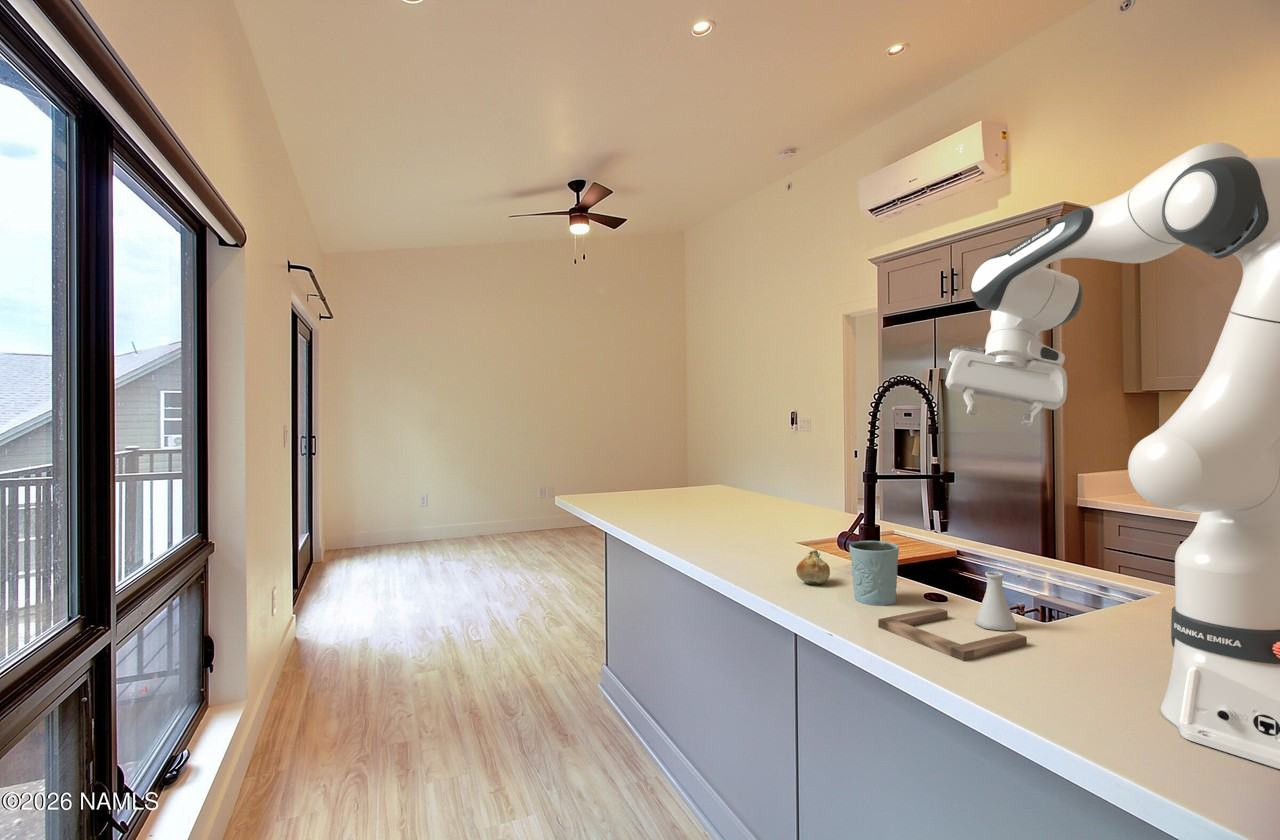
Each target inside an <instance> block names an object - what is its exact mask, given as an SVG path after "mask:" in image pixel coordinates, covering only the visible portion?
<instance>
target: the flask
mask: <svg viewBox="0 0 1280 840" xmlns="http://www.w3.org/2000/svg"><path fill="white" fill-rule="evenodd" d="M984 575H985V577H986V590H985V593H984V597H983V599H982V601H981V604H980V607H979V610H978V612H977V614H976V617H975V621H974V624H975V625H977V626H979V627H981V628H983V629H986V630H987V629H988V630H995V631H1014V630H1016V631H1017V623H1016V621H1015V618H1014V615H1013V613H1012V611H1011V609H1010V606H1009V603H1008V601H1007V598H1006V595H1005V591H1004V587H1003V579H1004V577H1005V574H1004V573H1003V572H1000V571H999V572H998V571H985V574H984Z"/></svg>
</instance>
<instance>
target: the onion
mask: <svg viewBox="0 0 1280 840" xmlns="http://www.w3.org/2000/svg"><path fill="white" fill-rule="evenodd" d="M807 554H808V555H807V556H805V557H804V558H803V559H802V560H800V562H799V563H798V564H797V566H796V568H795V569H796V570H795V571H796V572H795V573H796V575H797V576H798V578H799V579H800V580H801V581H803V582H804V583H806V584H808V585H814V586H816V585H821V584H823V583H825V582H826V581H828V580H829V578H830V576H831V575H830V574H831V569H830V566H829V564H828V563H827V562H826V561H824V560H823V559H822V558H820V556H821V553H820V552H819V551H818V549H815V550H814V549H813V550H810V552H808V553H807Z"/></svg>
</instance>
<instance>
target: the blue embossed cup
mask: <svg viewBox="0 0 1280 840" xmlns="http://www.w3.org/2000/svg"><path fill="white" fill-rule="evenodd" d="M848 548H849V554H850V560H851V562H850V563H851V572H852V582H853V583H852V584H853V585H852V586H853V597H854V599H855V601H856V602H858V603H861V604H863V605H867V606H875V607H877V606H879V607H885V606H892V605H894V604H895V603H896V601H897V583H898V582H897V579H898V569H899V568H898V563H899V551H900V549H899V548H900V547H899V545H897V544H895V543H892V542H888V541H881V540H860V541H855V542H852V543H850V544H849V546H848Z"/></svg>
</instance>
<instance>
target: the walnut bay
mask: <svg viewBox="0 0 1280 840" xmlns="http://www.w3.org/2000/svg"><path fill="white" fill-rule="evenodd" d="M948 613H949V612H948V610H946V609H943V608H940V607H933V608H928V609H923V610H917V611H914V612H913V611H912V612H908V613H903V614H898V615H893V616H889V617H888V616H887V617H883V618H878V619H877V620H878V621H877V622H878V623H877V625H878V628H880V629H883V630H885V631H888V632H890V633H893V634H895V635H897V636H899V637H903V638H905V639H907V640H909V641H913V642H914V643H915V642H916V643H918V644H920V645H922V646H926V647H927V648H930V649H933V650H935V651H938V652H941V654H942V653H943V654H945V655H948V656H950V657H952V658H954V659H958V660H959V661H962V662H966V661H970V660H973V659H976V658H977V659H978V658H981V657H984V656H989V655H993V654H997V653H1002V652H1005V651H1009V650H1013V649H1017V648H1021V647H1025V646H1027V645H1028V642H1027V641H1028V640H1027V636H1026V635H1023V634H1018V633H1016V632H1009V633H1005V634H1001V635H997V636H992V637H988V638H987V637H986V638H984V639H980V640H975V641H971V642H967V643H962V644H961V643H958V642H956V641H954V640H950V639H947V638H944V637H942V636H939V635H937V634H934V633H933V632H928V631H926V630H924V629H921V628H918V627H915V626H919V625H923V624H927V623H932V622H937V621H938V622H939V621H941V620H942V621H943V620H947V619H948V617H949V615H948Z"/></svg>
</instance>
